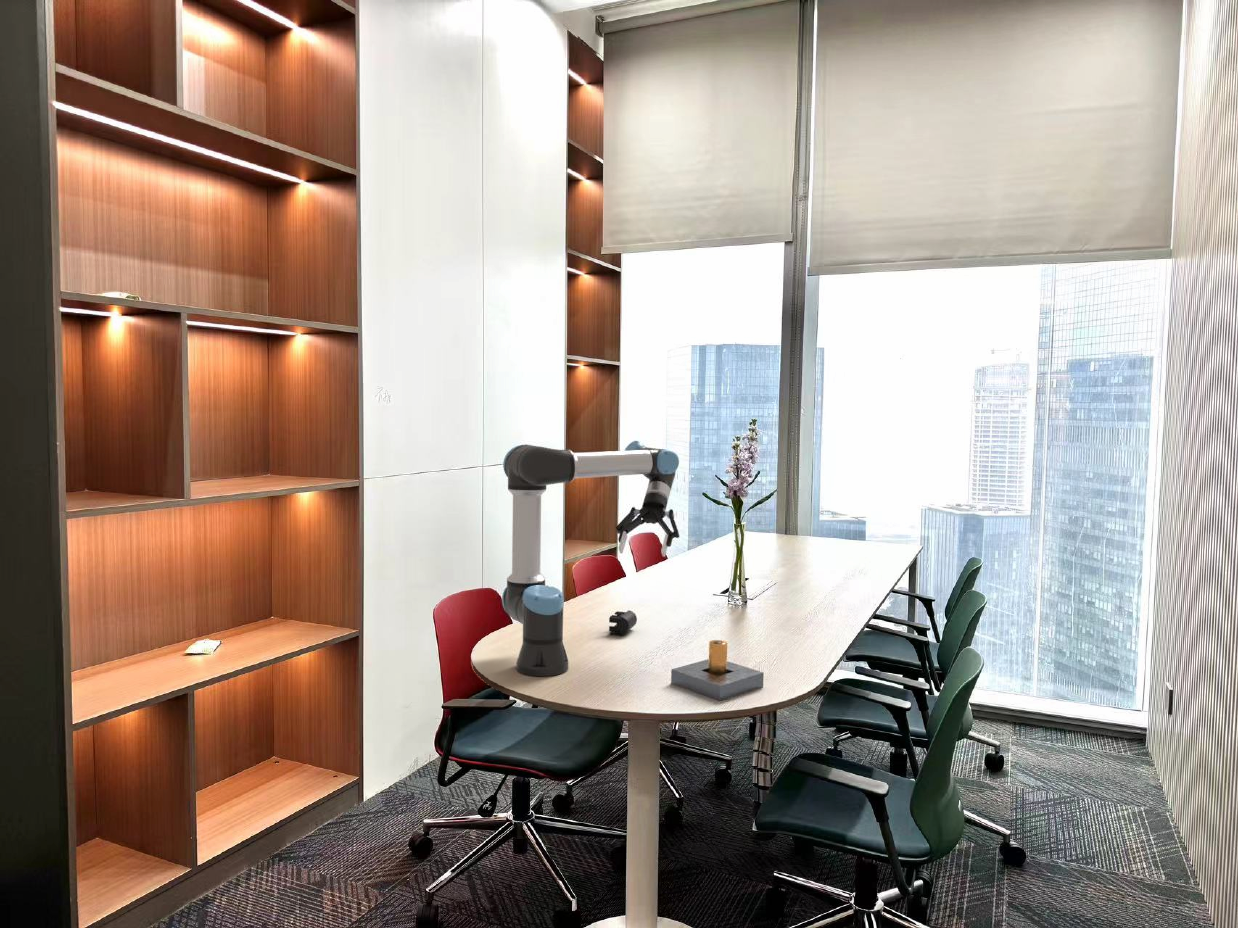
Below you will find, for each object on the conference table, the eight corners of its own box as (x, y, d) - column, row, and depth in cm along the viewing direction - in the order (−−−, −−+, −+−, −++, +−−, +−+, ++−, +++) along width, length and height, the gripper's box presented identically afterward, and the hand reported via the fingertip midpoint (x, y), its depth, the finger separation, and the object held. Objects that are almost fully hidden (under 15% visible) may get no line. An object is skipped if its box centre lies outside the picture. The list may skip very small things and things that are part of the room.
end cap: (628, 637, 279) (629, 617, 278) (608, 635, 281) (608, 615, 280) (636, 630, 288) (637, 610, 288) (617, 628, 290) (617, 608, 290)
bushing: (718, 689, 228) (719, 646, 227) (704, 684, 231) (705, 642, 230) (729, 685, 231) (731, 642, 230) (716, 680, 235) (717, 638, 234)
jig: (719, 700, 219) (720, 685, 218) (671, 683, 232) (671, 669, 232) (763, 686, 230) (763, 672, 230) (714, 670, 244) (714, 657, 244)
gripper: (696, 508, 266) (683, 562, 253) (622, 504, 274) (605, 556, 261) (692, 493, 261) (679, 547, 247) (617, 489, 269) (600, 542, 255)
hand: (641, 552), depth 254 cm, fingers open, 13 cm apart
